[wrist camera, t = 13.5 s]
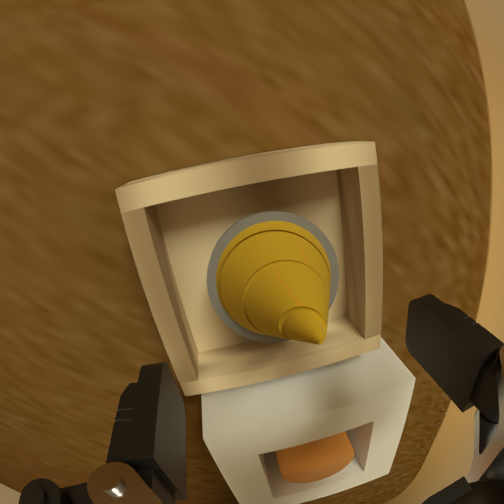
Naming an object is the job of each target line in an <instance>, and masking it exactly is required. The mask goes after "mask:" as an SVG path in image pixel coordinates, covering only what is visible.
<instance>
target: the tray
mask: <svg viewBox="0 0 504 504" xmlns="http://www.w3.org/2000/svg"><path fill="white" fill-rule="evenodd" d="M115 191H116V195H117V199H118V203H119V207H120V211H121V215H122V219H123V222H124V226H125V230H126V233H127V237H128V240H129V244H130V247H131V251H132V254H133V257H134V261H135V264H136V267H137V270H138V273H139V276H140V280H141V283H142V286H143V289H144V292H145V295H146V297H147V300H148V303H149V306H150V309H151V312H152V315H153V317H154V320H155V323H156V325H157V328H158V331H159V333H160V336H161V339H162V341H163V344H164V346H165V349H166V351H167V354H168V356H169V359H170V361H171V364H172V366H173V369H174V371H175V373H176V376H177V378H178V380H179V383H180V385H181V387H182V390H183V392H184V394H185V396H191V395H197V394H203V393H209V392H215V391H220V390H225V389H231V388H236V387H241V386H246V385H250V384H255V383H259V382H264V381H268V380H272V379H277V378H281V377H285V376H289V375H293V374H297V373H300V372H304V371H308V370H311V369H315V368H318V367H322V366H325V365H329V364H332V363H336V362H339V361H342V360H345V359H348V358H352V357H355V356H358V355H361V354H364V353H367V352H370V351H373V350H376V349H378V348H380V340H381V323H382V295H383V246H382V219H381V201H380V188H379V176H378V165H377V156H376V147H375V142H363V141H344V142H335V143H327V144H318V145H311V146H303V147H296V148H289V149H283V150H276V151H270V152H264V153H258V154H252V155H246V156H241V157H236V158H230V159H225V160H220V161H215V162H210V163H205V164H201V165H196V166H192V167H187V168H183V169H178V170H174V171H170V172H166V173H161V174H157V175H153V176H149V177H145V178H142V179H138V180H134V181H131V182H129V183H127V184H125V185H123V186H121V187H119V188H117V189H115ZM270 211H279V212H288V213H292V214H295V215H298V216H301V217H303V218H305V219H307V220H308V221H310V222H312V223H313V224H315V225H316V226H317V227H318V228H319V229H320V230H321V231H322V232H323V233H324V234H325V235H326V237H327V238H328V239H329V241H330V242H331V244H332V247H333V249H334V251H335V253H336V257H337V261H338V265H339V284H338V290H337V293H336V296H335V299H334V302H333V304H332V306H331V307H330V309H329V313H328V324H327V334H326V338H325V340H324V342H323V343H322V344H321V345H318V344H312V343H306V342H301V341H295V340H288V341H283V342H276V343H267V342H258V341H254V340H250V339H247V338H245V337H243V336H241V335H239V334H237V333H236V332H234V331H233V330H231V329H230V328H229V327H227V326H226V324H225V323H224V322H223V321H222V320H221V319H220V318H219V317H218V315H217V313H216V312H215V310H214V308H213V307H212V304H211V301H210V298H209V295H208V289H207V282H206V281H207V268H208V264H209V261H210V257H211V254H212V251H213V249H214V247H215V245H216V243H217V241H218V240H219V239H220V237H221V236H222V235H223V234H224V232H225V231H226V230H227V229H228V228H230V227H231V226H232V225H233V224H234V223H236V222H237V221H239V220H241V219H243V218H245V217H247V216H250V215H253V214H256V213H260V212H270Z"/></svg>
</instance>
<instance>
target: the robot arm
mask: <svg viewBox="0 0 504 504" xmlns="http://www.w3.org/2000/svg"><path fill="white" fill-rule="evenodd" d="M406 345H407V348H408V351H409V352H410V354H411V355H412V356H413V357H414V358H415V359H416V360H417V362H418V363H419V364H420V365H421V366H422V367H423V368H424V369H425V370H426V372H427V373H428V374H429V375H430V376H431V377H432V378H433V379H434V380H435V382H436V383H437V384H438V385H439V386H440V387H441V388H442V389H443V391H444V392H445V393H446V394H447V395H448V396H449V397H450V399H451V400H452V401H453V402H454V403H455V404H456V406H458V408H459V409H460V410H461V411H462V412H464V411H466V410H468V409H469V408H471V407H472V406H475V407H476V408H477V410H476V413H475V435H474V455H473V463H472V466H471V469H470V472H469V474H468V477H467V480H466V479H465V477H462V478H460V479H459V480H457V481H456V482H454V483H453V484H451V485H449V486H448V487H446V488H444V489H443V490H441V491H439V492H437V493H436V494H434V495H432V496H430V497H429V498H428V499H427V500H425V501H424V502H423V503H422V504H504V343H503V342H501V341H500V340H499V339H498V338H496V337H495V336H494V335H493V334H491V333H490V332H489V331H488V330H486V329H485V328H484V327H482V326H481V325H480V324H478V323H476V321H475V320H473V319H472V318H471V317H468V315H467V314H465V313H464V312H463V311H461V310H460V309H459V308H457V307H454V306H451V305H449V304H446V303H443V302H442V301H440V300H439V299H438V298H436V297H435V296H434V295H432V294H428V295H425V296H423V297H420V298H417V299H414V300H412V301H411V302H410V304H409V308H408V319H407V329H406ZM115 420H116V422H115V423H114V427H113V432H112V437H111V441H110V446H109V452H108V457H107V461H106V464H103V465H101V466H99V467H98V468H96V469H95V470H94V471H93V472H92V474H91V475H90V477H89V479H88V482H86V483H83V484H78V485H74V486H70V487H65V488H59V487H58V486H57V485H56V484H55V483H54V482H52V481H51V480H48V479H44V478H40V479H35V480H33V481H31V482H29V483H28V484H27V485H26V486H25V487H24V489H23V490H22V492H21V496H20V500H19V504H175V501H176V500H187V486H186V414H185V406H184V402H183V399H182V396H181V394H180V392H179V389H178V387H177V385H176V382H175V380H174V378H173V376H172V373H171V371H170V368H169V366H168V364H167V363H166V362H162V363H156V364H149V365H143V366H142V367H141V370H140V374H139V379H138V383H130V384H129V385H128V386H127V388H126V389H125V390H124V392H123V393H122V395H121V397H120V401H119V405H118V411H117V414H116V418H115Z"/></svg>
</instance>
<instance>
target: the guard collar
mask: <svg viewBox="0 0 504 504" xmlns="http://www.w3.org/2000/svg"><path fill="white" fill-rule="evenodd" d="M414 384H415V377H414V376H413V375H412V374H411V372H410V371H409V370H408V369H407V368H406V366H405V365H404V364H403V363H402V362H401V360H400V359H399V358H398V357H397V356H396V354H395V353H394V352H393V351H392V350H391V348H390V347H389V346H388V345H387V344H386V342H385V341H384V340H383V339H382V338H381V340H380V348H378V349H376V350H373V351H370V352H367V353H364V354H361V355H358V356H355V357H352V358H348V359H345V360H342V361H339V362H336V363H332V364H329V365H325V366H322V367H318V368H315V369H311V370H308V371H304V372H300V373H297V374H293V375H289V376H285V377H281V378H277V379H272V380H268V381H264V382H259V383H255V384H250V385H246V386H241V387H236V388H231V389H225V390H220V391H215V392H209V393H203V394H201V398H202V427H203V440H204V442H205V444H206V446H207V448H208V450H209V451H210V453H211V455H212V457H213V459H214V461H215V463H216V464H217V466H218V468H219V470H220V472H221V473H222V475H223V477H224V479H225V480H226V482H227V484H228V486H229V487H230V489H231V491H232V492H233V494H234V496H235V497H236V499H237V501H238V502H239V504H299V503H303V502H307V501H311V500H314V499H318V498H321V497H325V496H328V495H331V494H334V493H337V492H341V491H344V490H347V489H349V488H352V487H355V486H358V485H361V484H363V483H366V482H368V481H371V480H374V479H376V478H378V477H381V476H383V475H386V474H388V473H389V471H390V468H391V465H392V462H393V459H394V456H395V453H396V450H397V447H398V444H399V441H400V438H401V434H402V431H403V427H404V424H405V420H406V417H407V413H408V409H409V405H410V401H411V397H412V393H413V388H414ZM344 431H345V432H346V434H347V436H348V438H349V440H350V442H351V444H352V447H353V449H354V451H355V454H354V457H353V459H352V461H351V462H350V463H349V464H348V465H347V466H346V467H345V468H343V469H342V470H341V471H339V472H337V473H336V474H334V475H332V476H330V477H327V478H325V479H322V480H319V481H315V482H310V483H292V482H288V481H286V480H285V479H284V478H283V477H282V475H281V471H280V467H279V464H278V460H277V456H276V452H275V451H277V450H281V449H285V448H290V447H293V446H297V445H301V444H305V443H308V442H312V441H315V440H319V439H322V438H326V437H329V436H332V435H335V434H338V433H341V432H344Z"/></svg>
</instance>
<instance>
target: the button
mask: <svg viewBox="0 0 504 504" xmlns="http://www.w3.org/2000/svg"><path fill="white" fill-rule="evenodd" d="M275 452H276V456H277V460H278V464H279V467H280V471H281V475H282V477H283V478H284V479H285V480H286V481H288V482H292V483H310V482H315V481H319V480H322V479H325V478H327V477H330V476H332V475H334V474H336V473H337V472H339V471H341V470H342V469H343V468H345V467H346V466H347V465H348V464H349V463H350V462H351V461H352V459H353V457H354V454H355V451H354V449H353V447H352V444H351V442H350V440H349V438H348V436H347V434H346V432H345V431H344V432H341V433H338V434H335V435H332V436H329V437H326V438H322V439H319V440H315V441H312V442H308V443H305V444H301V445H297V446H293V447H290V448H285V449H281V450H277V451H275Z"/></svg>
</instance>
